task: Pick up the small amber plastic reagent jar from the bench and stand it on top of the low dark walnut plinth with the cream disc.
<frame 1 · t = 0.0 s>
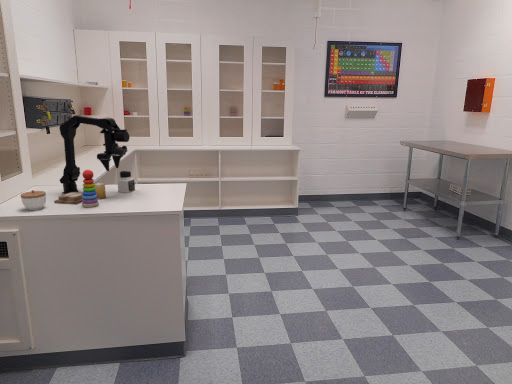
hand: (112, 169, 209), 15 cm above the worktop, tool pointing down, fingers open, 9 cm apart
walnut plinth: (73, 200, 201), on the worktop
stacking toy: (90, 206, 192), on the worktop
lidded jar: (35, 208, 187), on the worktop
medicine bottle: (126, 191, 222), on the worktop
amber jar: (100, 197, 207), on the worktop
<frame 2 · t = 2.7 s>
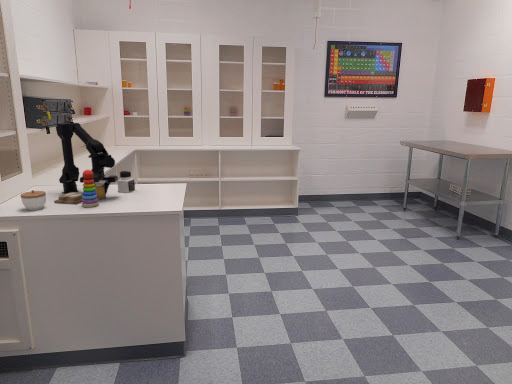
hand: (100, 194, 206), 2 cm above the worktop, tool pointing down, fingers closed on amber jar, 5 cm apart
amber jar: (100, 197, 207), on the worktop, touching gripper
everything else where it was.
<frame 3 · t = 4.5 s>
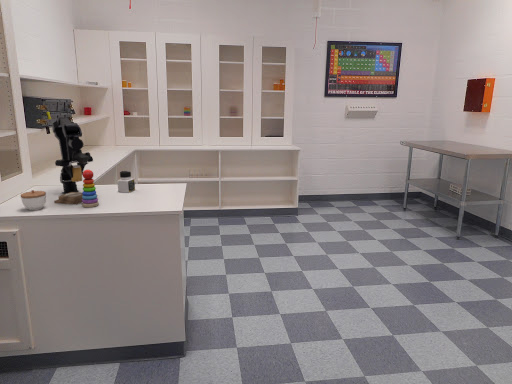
hand: (76, 176, 199), 13 cm above the worktop, tool pointing down, fingers closed on amber jar, 5 cm apart
amber jar: (77, 180, 200), point 11 cm above the worktop, touching gripper
everything else where it was.
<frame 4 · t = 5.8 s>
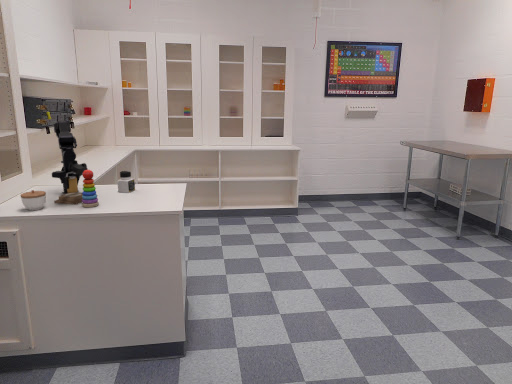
hand: (72, 187, 199), 7 cm above the worktop, tool pointing down, fingers closed on amber jar, 5 cm apart
amber jar: (72, 191, 200), point 5 cm above the worktop, touching gripper
everything else where it was.
when the fingers open (6 cm above the worktop, at t = 6.7 s): amber jar stays where it is, resting on walnut plinth.
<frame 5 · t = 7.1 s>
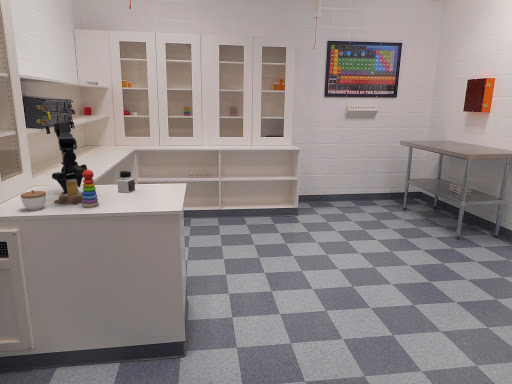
hand: (72, 189, 200), 6 cm above the worktop, tool pointing down, fingers open, 9 cm apart
amber jar: (73, 194, 200), point 3 cm above the worktop, touching walnut plinth
everything else where it was.
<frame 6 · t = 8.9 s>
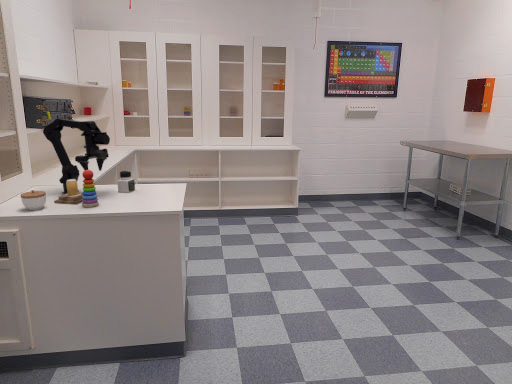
hand: (93, 172, 210), 13 cm above the worktop, tool pointing down, fingers open, 9 cm apart
nothing on the worktop moved.
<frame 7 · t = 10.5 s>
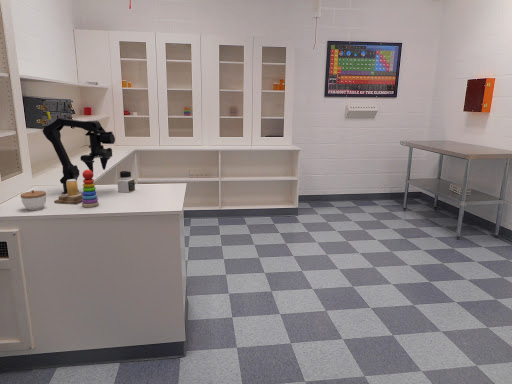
hand: (98, 171, 213), 13 cm above the worktop, tool pointing down, fingers open, 9 cm apart
nothing on the worktop moved.
at the end: amber jar inside the target area on the walnut plinth (0.0 cm from its centre), point 3.3 cm above the walnut plinth's base; amber jar tilted 0°; the gripper is holding nothing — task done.
